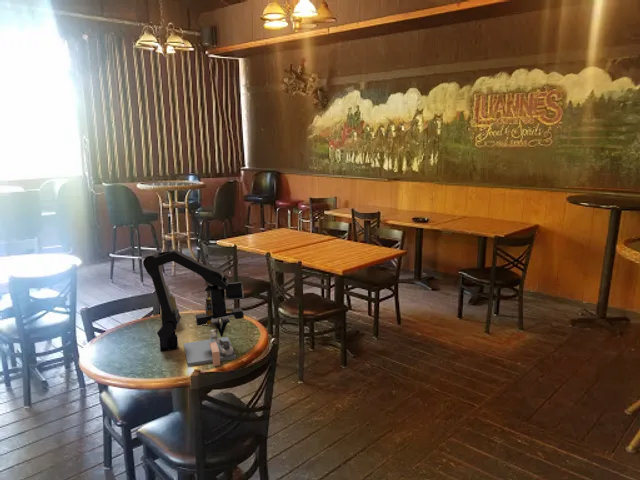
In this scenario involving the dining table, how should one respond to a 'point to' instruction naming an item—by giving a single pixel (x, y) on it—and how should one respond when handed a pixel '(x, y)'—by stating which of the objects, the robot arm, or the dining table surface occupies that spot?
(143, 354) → the dining table surface
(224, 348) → the swing arm
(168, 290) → the squeeze bottle
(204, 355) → the slate board
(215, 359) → the bracket
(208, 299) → the condiment
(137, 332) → the dining table surface
